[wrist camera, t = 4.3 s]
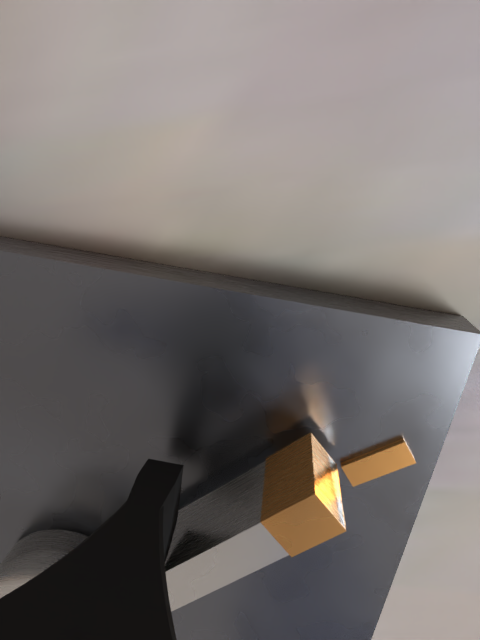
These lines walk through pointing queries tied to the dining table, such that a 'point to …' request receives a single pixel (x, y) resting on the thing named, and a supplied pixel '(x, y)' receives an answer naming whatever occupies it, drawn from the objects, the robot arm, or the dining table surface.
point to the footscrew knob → (224, 526)
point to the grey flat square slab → (222, 416)
